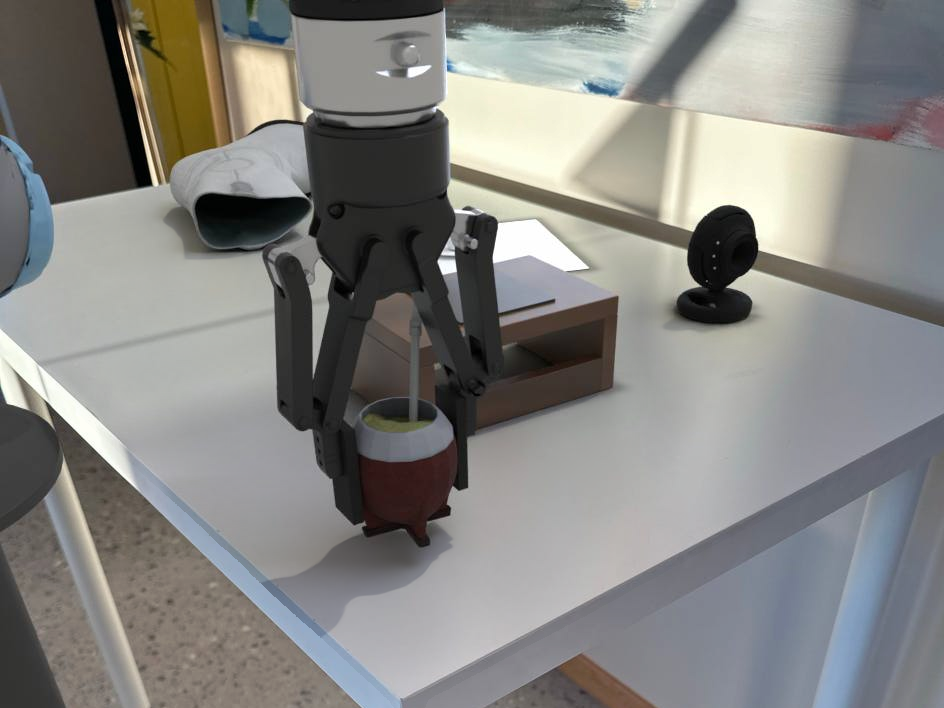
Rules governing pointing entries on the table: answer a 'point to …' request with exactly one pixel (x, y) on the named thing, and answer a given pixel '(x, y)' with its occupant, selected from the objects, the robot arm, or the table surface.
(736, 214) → the webcam
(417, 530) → the mate gourd
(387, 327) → the shelf
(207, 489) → the table surface
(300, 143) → the cowboy boot
